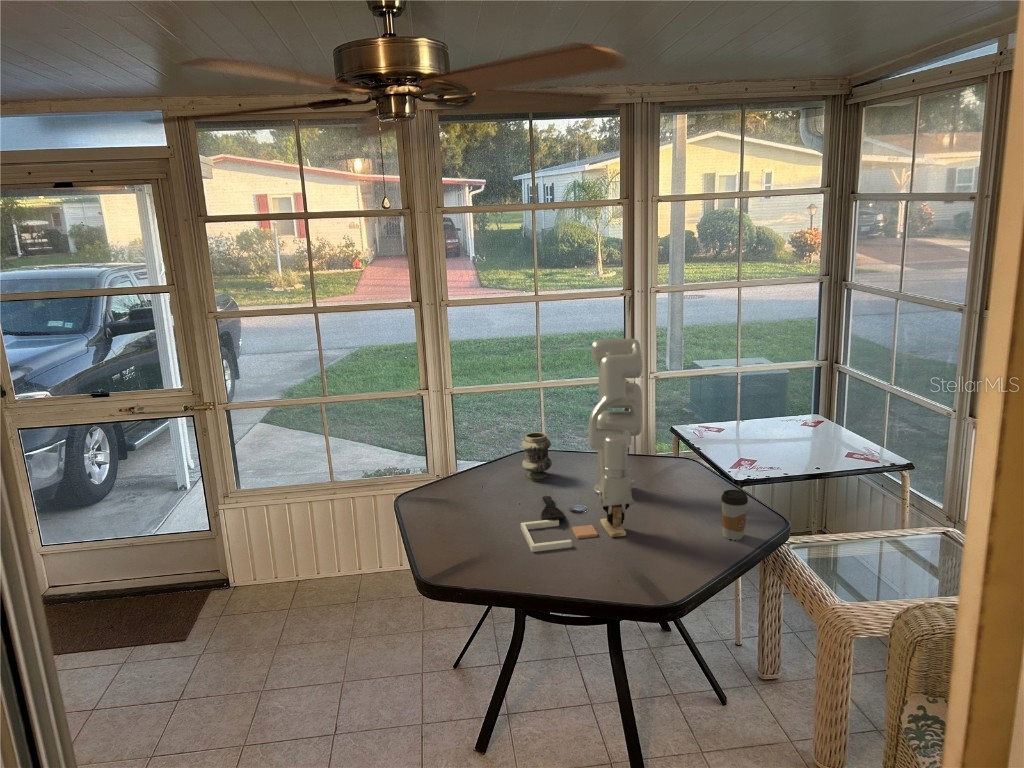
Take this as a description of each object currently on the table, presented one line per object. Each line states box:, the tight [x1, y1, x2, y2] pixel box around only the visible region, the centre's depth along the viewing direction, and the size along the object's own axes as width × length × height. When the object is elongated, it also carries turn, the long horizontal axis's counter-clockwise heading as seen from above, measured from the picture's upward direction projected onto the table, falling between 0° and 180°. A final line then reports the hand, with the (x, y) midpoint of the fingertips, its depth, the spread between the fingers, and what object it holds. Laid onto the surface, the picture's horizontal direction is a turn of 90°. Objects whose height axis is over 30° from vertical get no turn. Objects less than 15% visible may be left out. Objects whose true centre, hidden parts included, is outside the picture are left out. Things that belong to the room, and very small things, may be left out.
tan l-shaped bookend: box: [599, 505, 627, 538], centre depth 239 cm, size 5×12×8 cm, turn 11°
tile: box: [571, 524, 599, 540], centre depth 238 cm, size 7×7×2 cm
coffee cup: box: [721, 489, 749, 541], centre depth 230 cm, size 8×8×15 cm
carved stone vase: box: [521, 431, 553, 482], centre depth 288 cm, size 12×12×18 cm
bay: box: [520, 519, 573, 553], centre depth 236 cm, size 13×18×2 cm
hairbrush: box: [540, 495, 566, 521], centre depth 256 cm, size 8×4×25 cm
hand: (615, 522), depth 240 cm, fingers closed on tan l-shaped bookend, 3 cm apart
